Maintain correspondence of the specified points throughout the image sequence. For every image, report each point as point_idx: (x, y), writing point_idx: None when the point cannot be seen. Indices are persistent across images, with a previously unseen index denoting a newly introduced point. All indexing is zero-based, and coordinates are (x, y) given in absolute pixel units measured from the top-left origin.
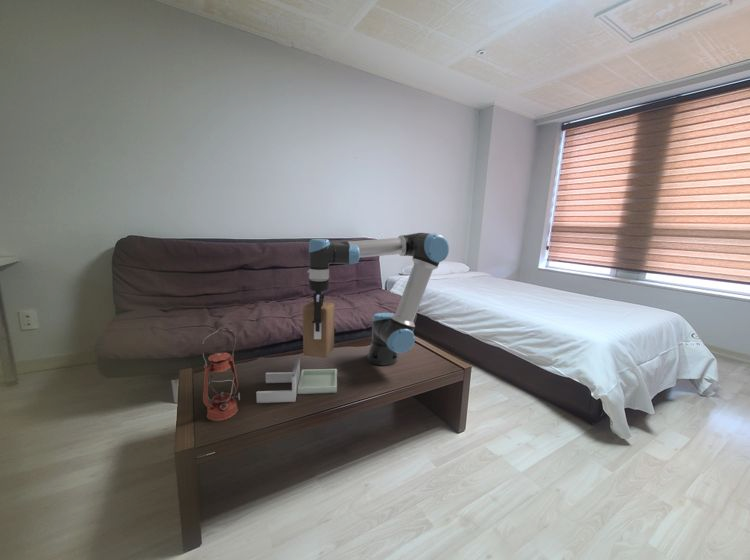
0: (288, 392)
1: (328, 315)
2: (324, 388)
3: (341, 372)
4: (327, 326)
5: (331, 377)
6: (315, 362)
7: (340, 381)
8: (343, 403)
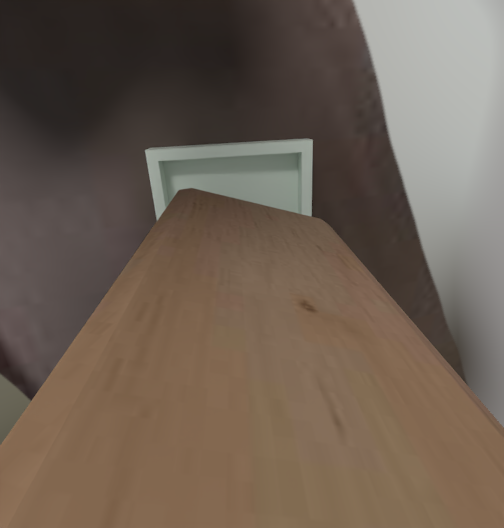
0: None
1: (468, 443)
2: (311, 191)
3: (131, 126)
4: (415, 331)
5: (194, 170)
6: (55, 254)
7: (215, 126)
8: (382, 105)
